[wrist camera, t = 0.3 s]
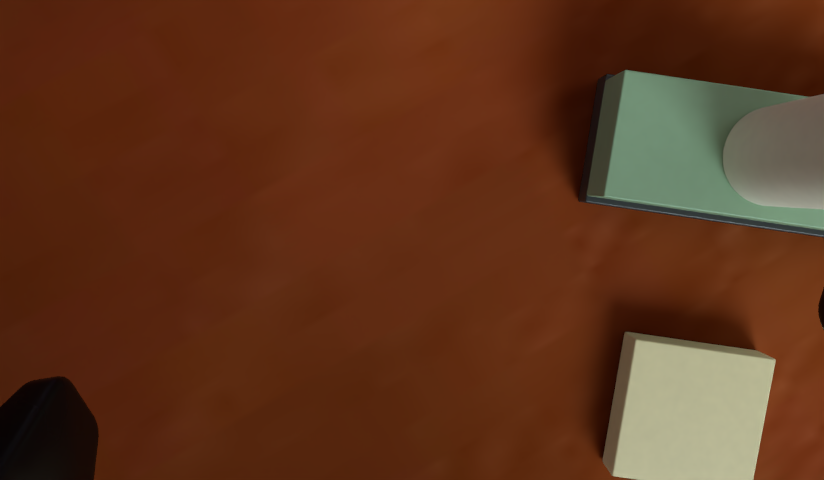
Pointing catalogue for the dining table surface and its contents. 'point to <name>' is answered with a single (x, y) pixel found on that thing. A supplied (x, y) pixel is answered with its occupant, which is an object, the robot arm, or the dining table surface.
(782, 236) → the dining table surface
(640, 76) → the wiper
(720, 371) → the pale yellow square block
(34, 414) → the robot arm
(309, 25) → the dining table surface
